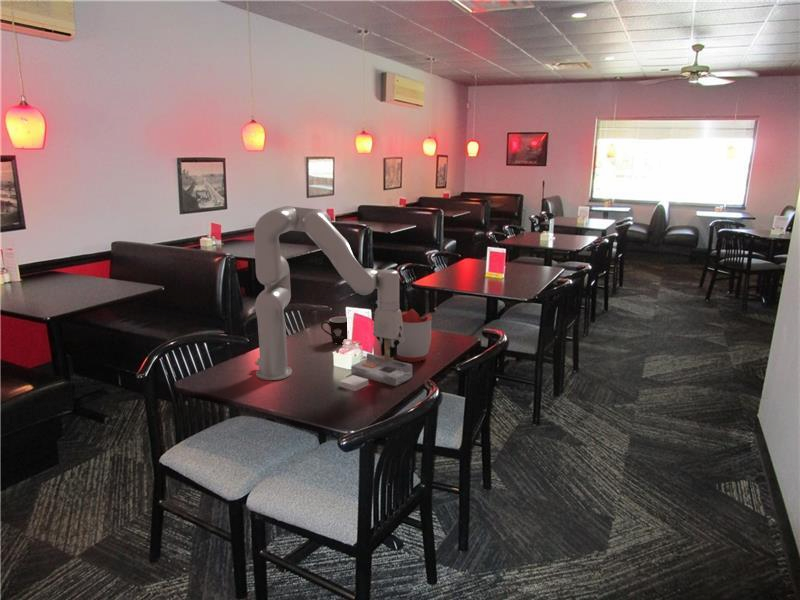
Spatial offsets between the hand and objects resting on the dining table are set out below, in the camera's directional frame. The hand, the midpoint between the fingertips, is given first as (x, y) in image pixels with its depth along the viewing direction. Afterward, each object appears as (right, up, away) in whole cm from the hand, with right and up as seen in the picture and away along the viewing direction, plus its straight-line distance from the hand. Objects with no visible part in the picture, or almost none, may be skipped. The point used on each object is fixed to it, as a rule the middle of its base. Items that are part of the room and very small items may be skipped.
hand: (388, 355), depth 199 cm
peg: (0, -2, 0) cm, 2 cm away
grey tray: (-3, -8, +4) cm, 9 cm away
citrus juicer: (+9, -3, +23) cm, 25 cm away
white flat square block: (-12, -10, -5) cm, 16 cm away
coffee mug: (-23, +2, +41) cm, 47 cm away
